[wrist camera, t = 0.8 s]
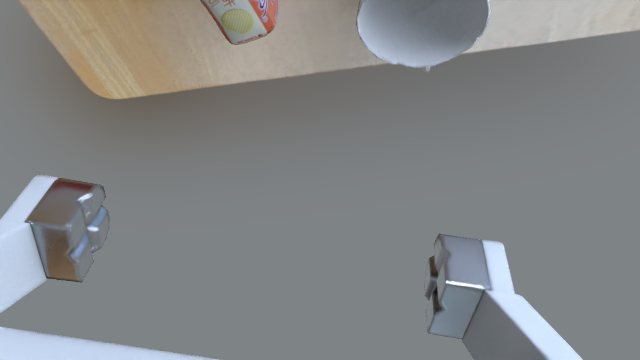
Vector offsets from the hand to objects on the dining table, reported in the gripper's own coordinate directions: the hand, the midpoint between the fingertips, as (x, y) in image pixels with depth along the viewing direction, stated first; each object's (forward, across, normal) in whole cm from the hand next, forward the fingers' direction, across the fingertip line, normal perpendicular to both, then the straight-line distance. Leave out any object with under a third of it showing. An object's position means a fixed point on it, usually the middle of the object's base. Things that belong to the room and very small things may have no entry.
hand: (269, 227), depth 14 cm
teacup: (+50, -8, +10) cm, 52 cm away
